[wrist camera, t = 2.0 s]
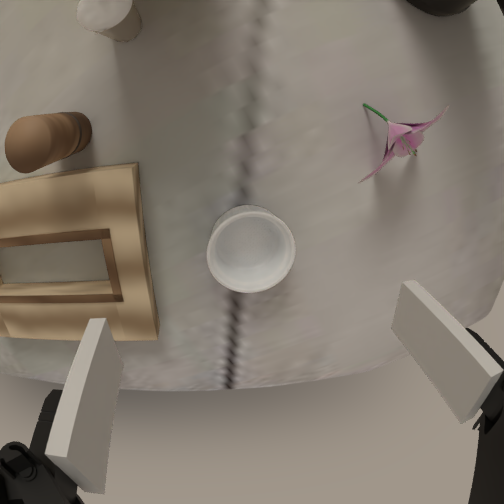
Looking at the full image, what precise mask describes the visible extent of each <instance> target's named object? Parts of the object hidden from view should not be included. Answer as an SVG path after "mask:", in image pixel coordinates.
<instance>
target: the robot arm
mask: <svg viewBox="0 0 504 504" xmlns="http://www.w3.org/2000/svg"><path fill="white" fill-rule="evenodd" d="M407 1H408V2H409V3H411V4H412V5H414V6H415V7H417V8H418V9H420V10H422V11H424V12H426V13H429V14H432V15H435V16H449V15H454V14H459V13H461V12H463V11H465V10H466V9H467V8H468V7H469V6H470V5H471V4H473V3H474V2H475V1H477V0H407ZM497 2H498V4H499V6H500V9H501V11H502V13H503V15H504V0H497ZM391 329H392V330H393V332H394V333H395V334H396V336H397V337H398V338H399V339H400V341H401V342H402V343H403V345H404V346H405V347H406V349H407V350H408V351H409V353H410V354H411V355H412V356H413V358H414V359H415V361H416V362H417V363H418V365H419V366H420V367H421V368H422V370H423V371H424V373H425V374H426V375H427V377H428V378H429V379H430V381H431V382H432V384H433V385H434V386H435V388H436V389H437V391H438V392H439V393H440V395H441V396H442V398H443V399H444V400H445V402H446V403H447V405H448V406H449V407H450V409H451V410H452V412H453V413H454V415H455V416H456V418H457V419H458V421H459V422H460V424H462V423H464V422H466V421H467V420H469V419H471V418H473V417H474V416H475V414H476V413H477V411H478V410H479V409H480V408H481V409H482V411H483V413H482V414H481V416H480V417H479V419H478V420H477V422H476V423H475V424H474V426H473V429H475V428H476V427H477V426H478V424H479V423H480V427H479V428H478V430H479V440H478V449H477V457H476V465H475V471H474V477H473V483H472V488H471V493H470V498H469V503H468V504H504V361H503V360H502V359H501V358H500V357H499V356H498V355H497V354H496V353H495V352H494V351H493V349H492V348H490V347H489V345H488V344H487V343H485V342H484V340H483V339H482V338H481V337H480V336H479V335H478V334H477V333H475V332H474V331H472V330H470V329H469V328H464V327H463V326H462V325H461V324H460V323H459V322H458V321H457V320H456V319H455V318H454V317H453V316H452V315H451V314H450V313H449V312H448V311H447V310H446V309H445V308H444V307H443V306H442V305H441V304H440V303H439V302H438V301H437V300H436V299H434V298H433V297H432V296H431V295H430V294H429V293H428V292H427V291H426V290H425V289H424V288H423V287H422V286H421V285H420V284H419V283H417V282H416V281H415V280H411V281H406V282H402V285H401V289H400V294H399V298H398V302H397V307H396V311H395V315H394V319H393V323H392V326H391ZM123 366H124V365H123V362H122V360H121V357H120V355H119V352H118V349H117V347H116V344H115V341H114V339H113V336H112V333H111V330H110V328H109V325H108V322H107V319H106V318H94V319H90V320H89V322H88V325H87V327H86V330H85V332H84V335H83V337H82V340H81V342H80V345H79V347H78V350H77V353H76V355H75V358H74V361H73V363H72V366H71V369H70V372H69V375H68V377H67V380H66V383H65V386H64V389H63V390H52V391H51V393H50V394H49V395H48V396H47V397H46V399H45V401H44V404H43V407H42V410H41V411H42V412H41V413H40V415H39V418H38V420H39V421H38V422H37V425H36V428H35V431H34V434H33V438H32V441H31V444H30V448H29V449H28V448H27V447H26V446H25V445H24V444H22V443H20V442H10V443H7V444H6V445H5V446H3V447H2V449H1V450H0V504H84V503H83V501H82V500H81V498H80V497H79V496H78V495H77V494H76V493H77V486H79V487H80V488H81V489H82V490H84V492H91V493H98V494H104V493H105V482H106V473H107V464H108V455H109V447H110V440H111V433H112V426H113V420H114V414H115V408H116V402H117V397H118V391H119V386H120V381H121V376H122V371H123Z"/></svg>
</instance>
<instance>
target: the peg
mask: <svg viewBox="0 0 504 504" xmlns="http://www.w3.org/2000/svg"><path fill="white" fill-rule="evenodd" d="M91 134H92V127H91V123H90V121H89V119H88V118H87V117H86V116H85V115H84V114H82V113H79V112H60V113H54V114H44V115H34V116H26V117H22V118H20V119H18V120H17V121H15V122H14V123H13V125H12V126H11V127H10V129H9V131H8V133H7V135H6V139H5V154H6V158H7V160H8V162H9V164H10V165H11V166H12V168H14V169H15V170H16V171H18V172H20V173H31V172H33V171H35V170H37V169H40V168H42V167H44V166H46V165H49V164H51V163H53V162H56V161H58V160H60V159H64V158H66V157H69V156H70V155H72V154H75V153H77V152H80V151H81V150H83V149H84V148H85V147H86V146H87V145H88V143H89V141H90V139H91Z"/></svg>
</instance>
